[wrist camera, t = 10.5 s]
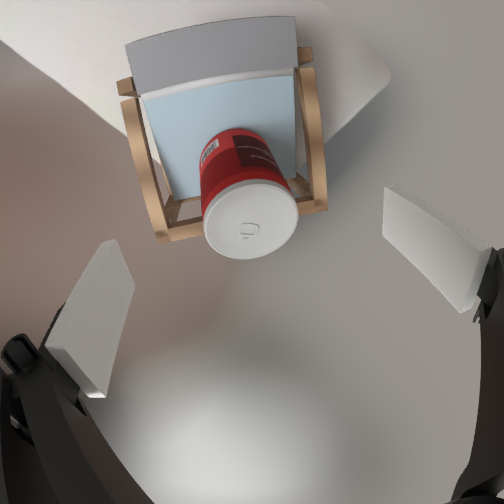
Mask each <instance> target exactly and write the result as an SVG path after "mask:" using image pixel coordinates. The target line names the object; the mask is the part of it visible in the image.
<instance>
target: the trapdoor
mask: <svg viewBox="0 0 504 504" xmlns="http://www.w3.org/2000/svg"><path fill="white" fill-rule="evenodd" d="M125 49H126V53H127V57H128V61H129V64H130V68H131V72H132V76H133V79H134V83H135V87H136V90H137V94H138V95H141V99H142V101H143V103H144V107H145V110H146V114H147V117H148V120H149V124H150V127H151V130H152V134H153V137H154V140H155V143H156V146H157V150H158V153H159V156H160V159H161V162H162V165H163V168H164V171H165V174H166V177H167V180H168V183H169V186H170V189H171V192H172V195H173V198H174V200H175V201H178V200H182V199H186V198H191V197H195V196H200V195H201V192H200V172H199V162H200V157H201V153H202V151H203V149H204V148H205V146H206V145H207V143H208V142H209V141H210V140H211V139H212V138H213V137H214V136H216V135H217V134H219V133H221V132H223V131H226V130H229V129H245V130H248V131H251V132H253V133H255V134H257V135H259V136H260V137H261V138H262V139H263V140H264V141H265V143H266V144H267V146H268V147H269V149H270V151H271V153H272V155H273V157H274V159H275V161H276V162H277V164H278V166H279V168H280V170H281V172H282V174H283V176H284V178H285V179H290V178H296V145H295V106H294V81H293V75H294V67H298V58H297V40H296V25H295V16H267V17H252V18H241V19H233V20H225V21H218V22H211V23H205V24H200V25H195V26H190V27H185V28H181V29H176V30H172V31H168V32H164V33H160V34H157V35H153V36H150V37H146V38H143V39H140V40H137V41H134V42H132V43H129V44H127V45H125Z"/></svg>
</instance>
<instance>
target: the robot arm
mask: <svg viewBox="0 0 504 504" xmlns="http://www.w3.org/2000/svg"><path fill="white" fill-rule="evenodd" d="M382 236H383V237H385V238H386V239H387V240H388V241H389V242H390V243H391V244H392V245H393V246H394V247H396V249H398V250H399V251H400V252H401V253H402V254H403V255H404V256H405V257H406V258H407V259H408V260H409V261H410V262H411V263H412V264H413V265H414V266H415V267H416V268H418V270H419V271H420V272H421V273H422V274H423V275H425V277H426V278H427V279H428V280H429V281H430V282H431V283H432V284H433V285H434V286H435V287H436V288H437V289H438V290H439V291H440V292H441V293H442V294H443V295H444V296H445V298H446V299H447V300H448V301H449V302H450V303H451V304H452V305H453V306H454V307H455V308H456V310H457V311H458V312H459V313H462V312H464V311H466V310H468V309H470V308H472V306H473V304H474V301H475V299H476V296H477V295H478V296H479V297H480V299H481V302H480V305H479V307H478V309H477V312H476V314H475V316H474V319H473V322H474V323H475V322H476V319H477V318H478V317H480V320H479V322H478V323H480V330H481V380H480V396H479V406H478V415H477V423H476V430H475V435H474V441H473V446H472V451H471V456H470V460H469V463H468V465H467V467H466V468H465V470H464V471H463V473H462V474H461V476H460V478H459V479H458V482H457V484H456V487H455V489H454V492H453V496H452V498H451V501H450V502H448V503H446V504H504V499H502V498H498V497H496V496H497V494H498V493H499V492H500V491H501V490H503V489H504V248H502V249H499V250H498V251H497V250H495V249H494V248H493V247H491V246H490V245H489V244H487V243H486V242H485V241H483V240H482V239H481V238H479V237H478V236H476V235H475V234H474V233H472V232H471V231H470V230H468V229H467V228H465V227H464V226H462V225H461V224H460V223H458V222H457V221H455V220H454V219H452V218H451V217H449V216H447V215H446V214H444V213H443V212H441V211H440V210H438V209H437V208H435V207H433V206H432V205H430V204H428V203H427V202H425V201H424V200H422V199H420V198H418V197H417V196H415V195H413V194H412V193H410V192H408V191H406V190H405V189H403V188H401V187H399V186H397V185H391V186H385V187H384V211H383V228H382ZM134 290H135V284H134V281H133V279H132V277H131V275H130V272H129V270H128V268H127V265H126V263H125V260H124V258H123V255H122V253H121V250H120V248H119V245H118V243H117V240H116V239H113V240H109V241H105V242H102V244H101V245H100V247H99V248H98V250H97V251H96V253H95V254H94V256H93V257H92V259H91V261H90V262H89V264H88V265H87V267H86V269H85V270H84V272H83V274H82V275H81V277H80V279H79V280H78V282H77V284H76V286H75V287H74V289H73V291H72V292H71V295H70V296H69V298H68V300H67V302H65V303H64V304H63V305H62V307H61V308H60V309H59V310H58V311H57V313H56V315H55V317H54V319H53V321H52V323H51V325H50V329H48V331H47V333H46V335H45V337H44V339H43V341H42V343H41V345H40V347H39V349H38V350H37V348H36V347H35V346H34V345H33V343H32V342H31V341H30V339H29V338H28V336H26V334H23V333H22V334H18V335H16V336H14V337H12V338H11V339H10V340H9V341H8V342H7V343H6V345H5V346H4V348H3V350H2V352H1V358H2V359H3V361H4V362H5V363H6V364H7V365H8V367H9V368H10V369H11V370H12V371H13V372H14V373H12V374H9V375H7V374H6V373H5V371H4V370H3V369H2V368H1V367H0V504H154V503H153V502H152V500H151V499H150V498H149V497H148V496H147V495H146V493H145V492H144V491H143V490H142V489H141V488H140V486H139V485H138V484H137V483H136V481H135V480H134V479H133V478H132V476H131V475H130V474H129V472H128V471H127V470H126V468H125V467H124V466H123V464H122V463H121V462H120V460H119V459H118V458H117V456H116V455H115V453H114V452H113V450H112V449H111V447H110V446H109V444H108V443H107V441H106V440H105V438H104V437H103V435H102V433H101V432H100V430H99V429H98V427H97V425H96V423H95V422H94V420H93V419H92V417H91V415H90V413H89V411H88V410H87V408H86V406H85V404H84V402H83V401H82V400H81V399H80V398H79V397H78V394H79V390H80V388H81V389H82V390H83V392H84V393H85V394H86V395H87V396H88V397H106V395H107V390H108V385H109V381H110V376H111V372H112V368H113V364H114V359H115V355H116V351H117V348H118V343H119V340H120V336H121V333H122V329H123V325H124V322H125V319H126V315H127V312H128V309H129V305H130V302H131V299H132V296H133V293H134ZM10 417H11V418H12V419H13V420H15V422H17V426H18V427H17V428H15V427H13V426H12V425H11V421H10Z"/></svg>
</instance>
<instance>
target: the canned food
mask: <svg viewBox="0 0 504 504" xmlns="http://www.w3.org/2000/svg"><path fill="white" fill-rule="evenodd" d="M199 172H200V192H201V208H202V219H203V228H204V233H205V237H206V239H207V241H208V243H209V244H210V246H211V247H212V248H213V249H214V250H215V251H217V252H218V253H220V254H222V255H224V256H226V257H230V258H235V259H252V258H257V257H261V256H264V255H266V254H269V253H271V252H273V251H275V250H276V249H278V248H279V247H281V246H282V245H283V244H284V243H285V242H286V241H287V240H288V239H289V238H290V237H291V235H292V234H293V232H294V231H295V228H296V226H297V222H298V216H299V215H298V208H297V204H296V202H295V199H294V197H293V194H292V192H291V190H290V188H289V186H288V184H287V182H286V180H285V178H284V176H283V174H282V172H281V170H280V168H279V166H278V164H277V162H276V161H275V159H274V157H273V155H272V153H271V151H270V149H269V147H268V146H267V144H266V143H265V141H264V140H263V139H262V138H261V137H260V136H259V135H257V134H255V133H253V132H251V131H248V130H245V129H229V130H226V131H223V132H221V133H219V134H217V135H216V136H214V137H213V138H212V139H211V140H210V141H209V142H208V143H207V145H206V146H205V148H204V149H203V151H202V153H201V157H200V162H199Z"/></svg>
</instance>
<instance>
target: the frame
mask: <svg viewBox="0 0 504 504" xmlns="http://www.w3.org/2000/svg"><path fill="white" fill-rule="evenodd" d="M297 58H298V66H301V65H303V64H305V63H308V62H310V61H313V58H312V52H311V47H297ZM294 68H296V67H294ZM295 71H296V77H297V84H298V91H299V98H300V105H301V113H302V121H303V129H304V138H305V147H306V156H307V166H308V177H309V182H308V181H307V180H305V179H304V178H303V177H302V176H301V175H299V174H298V173H297V172H296V178H290V179H285V180H286V182H287V183H288V184H289V185H290V186H291V187H292V188H293V189H294V190H295V191H296V192H297V193H298V194H299V195H300V197H299V198H294V199H295V202H296V204H297V208H298V215H304V214H310V213H316V212H321V211H327V210H328V205H327V186H326V171H325V157H324V146H323V135H322V125H321V116H320V107H319V99H318V92H317V84H316V77H315V71H314V67H308V68H298V69H295ZM117 88H118V93H119V95H121V96H131V97H134V98H131V99H128V100H125V101H122V102H120V103H121V108H122V113H123V118H124V122H125V127H126V131H127V135H128V140H129V144H130V148H131V152H132V156H133V160H134V163H135V167H136V171H137V174H138V178H139V182H140V185H141V189H142V193H143V196H144V199H145V203H146V206H147V209H148V212H149V216H150V219H151V222H152V225H153V228H154V232H155V235H156V237H157V241H158V244H162V243H166V242H171V241H175V240H180V239H184V238H189V237H194V236H199V235H203V234H205V233H204V228H203V219H202V216H201V217H196V218H192V219H188V220H183V221H178V222H177V218H178V214H179V210H180V206H181V203H185V202H189V201H193V200H198V199H201V195H200V196H195V197H191V198H186V199H182V200H178V201H175V200H174V198H173V195H172V192H171V189H170V186H169V183H168V180H167V177H166V174H165V171H164V168H163V165H162V162H161V165H162V169H163V173H164V177H165V181H166V185H167V189H168V193H169V198H168V201H167V203H166V205H165V207H164V203H163V199H162V196H161V192H160V189H159V185H158V181H157V177H156V173H155V170H154V166H153V162H152V157H151V153H150V149H149V145H148V141H147V136H146V132H145V128H144V123H143V118H142V114H141V109H140V104H139V99H138V98H135V97H140V98H141V95H138V94H137V90H136V87H135V83H134V79H133V77H128V78H126V79H123V80H120V81H117ZM159 157H160V156H159ZM160 161H161V159H160Z"/></svg>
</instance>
